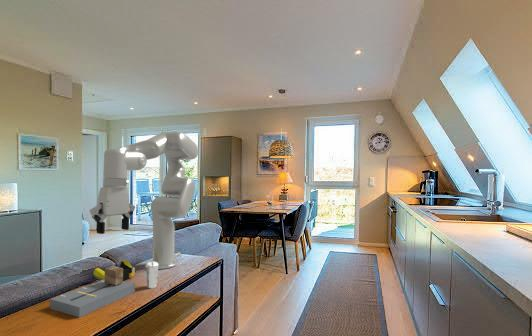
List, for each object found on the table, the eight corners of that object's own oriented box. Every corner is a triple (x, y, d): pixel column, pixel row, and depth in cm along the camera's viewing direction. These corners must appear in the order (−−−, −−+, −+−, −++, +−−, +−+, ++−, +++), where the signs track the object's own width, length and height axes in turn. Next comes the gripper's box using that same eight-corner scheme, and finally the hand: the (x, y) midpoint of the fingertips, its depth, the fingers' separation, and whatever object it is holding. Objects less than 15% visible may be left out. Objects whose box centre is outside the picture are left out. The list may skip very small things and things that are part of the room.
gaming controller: (90, 283, 113) (107, 287, 108) (90, 268, 113) (107, 272, 108) (124, 271, 126) (141, 275, 121) (125, 258, 126) (141, 262, 122)
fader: (112, 279, 106) (112, 265, 106) (123, 282, 104) (123, 267, 104) (104, 282, 103) (104, 268, 104) (115, 285, 101) (115, 270, 101)
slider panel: (107, 286, 109) (107, 277, 109) (134, 292, 104) (134, 283, 104) (49, 308, 91) (50, 298, 91) (79, 317, 85) (79, 306, 85)
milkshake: (145, 290, 105) (145, 262, 105) (145, 285, 110) (145, 258, 110) (158, 288, 107) (159, 261, 107) (158, 283, 112) (158, 257, 112)
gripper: (128, 183, 114) (126, 227, 113) (84, 183, 99) (82, 234, 98) (141, 183, 111) (140, 228, 110) (99, 183, 95) (97, 236, 95)
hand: (113, 231), depth 104 cm, fingers open, 9 cm apart
